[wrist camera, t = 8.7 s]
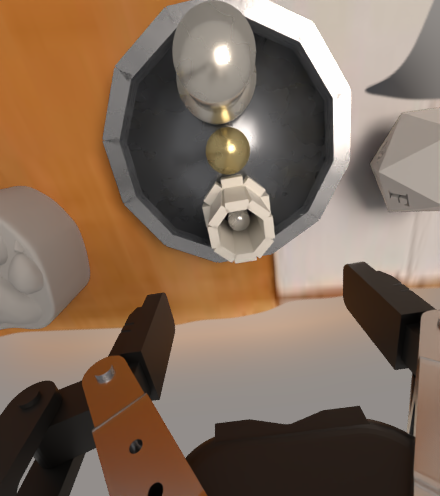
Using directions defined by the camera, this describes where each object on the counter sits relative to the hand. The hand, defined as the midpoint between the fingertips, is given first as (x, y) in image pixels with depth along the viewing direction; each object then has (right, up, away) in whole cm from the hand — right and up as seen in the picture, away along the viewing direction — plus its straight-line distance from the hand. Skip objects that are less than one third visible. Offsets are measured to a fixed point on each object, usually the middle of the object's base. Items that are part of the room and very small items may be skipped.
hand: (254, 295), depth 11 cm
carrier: (-1, +12, +14) cm, 18 cm away
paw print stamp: (-22, +3, +18) cm, 29 cm away
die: (+17, +11, +14) cm, 24 cm away
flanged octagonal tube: (0, +6, +15) cm, 16 cm away
